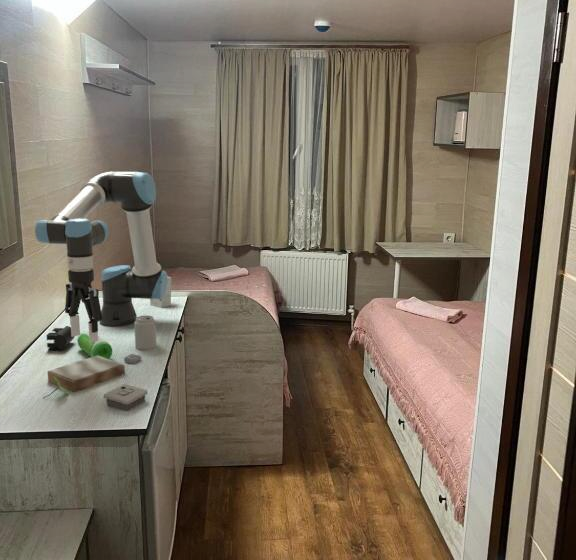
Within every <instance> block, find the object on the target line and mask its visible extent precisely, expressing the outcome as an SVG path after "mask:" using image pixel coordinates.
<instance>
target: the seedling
mask: <svg viewBox="0 0 576 560" xmlns="http://www.w3.org/2000/svg"><path fill="white" fill-rule="evenodd" d="M54 379H55V381H56V383H57V384H58V386H57V388H55V389H54V390H53V391H52V392H51V393H50V394H48V395H45V396H44V397H42V399H45V398H47V397H49V396H51V395H52V394H53V393H54V392H55V391H56V390H58V389H60V390H61V391H62V392H63V393H64V395H65V394H66V395H70V391H69V390H66V389H65V388H63V387H61V384H60V382H59V381H58V379H57V378H56V377H54Z"/></svg>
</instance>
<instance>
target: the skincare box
mask: <svg viewBox="0 0 576 560" xmlns="http://www.w3.org/2000/svg"><path fill="white" fill-rule="evenodd" d="M149 301H150V303H149V304H150V306H152V307H155V308H156V307H157V308H159V309H163V308H166V307H170V306H172V277H171V276H168V280H167V287H166V291H165V294H164V296H163V297H162V298H161V299H149Z"/></svg>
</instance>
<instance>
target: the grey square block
mask: <svg viewBox="0 0 576 560" xmlns="http://www.w3.org/2000/svg"><path fill="white" fill-rule="evenodd" d="M141 361H142V355H138V354H133V353H131V354H129V355H127V356H125V357H124V363H125V362H126V363H125V364H131V363H133V364H132V365H135V364H137V363H139V362H141Z"/></svg>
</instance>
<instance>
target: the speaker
mask: <svg viewBox="0 0 576 560" xmlns="http://www.w3.org/2000/svg"><path fill="white" fill-rule="evenodd" d="M76 340H77V345H78V347H79V349H81V351H84V353H86V354H87V355H88V356H89V357H90V358H91V357H94V356H97V355H98V356H101V357H104V358H106V359H109V360H110V358H111V357H112V355H113V348H112V346H111V344H110V343H109V342H108V341H107V340H105V339H103V338H102V337H100V336H99V335H98V341H96V342H92V343H89V330H84V331H82V332H80V335H78V336H77V339H76Z"/></svg>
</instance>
